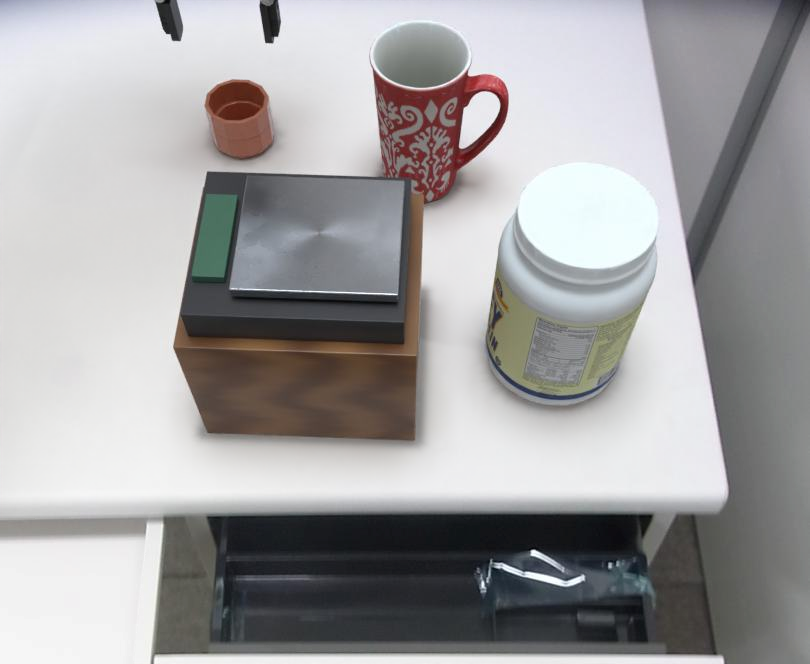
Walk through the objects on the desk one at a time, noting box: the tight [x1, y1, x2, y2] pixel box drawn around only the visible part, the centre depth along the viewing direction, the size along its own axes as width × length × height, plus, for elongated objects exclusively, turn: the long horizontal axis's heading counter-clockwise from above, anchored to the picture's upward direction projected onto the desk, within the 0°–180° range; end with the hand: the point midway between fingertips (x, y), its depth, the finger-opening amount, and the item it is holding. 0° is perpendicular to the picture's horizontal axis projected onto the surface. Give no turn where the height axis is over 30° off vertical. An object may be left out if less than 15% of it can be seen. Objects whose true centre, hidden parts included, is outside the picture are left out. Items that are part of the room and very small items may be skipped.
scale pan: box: [229, 176, 404, 302], centre depth 62 cm, size 12×11×1 cm
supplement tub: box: [484, 161, 660, 406], centre depth 68 cm, size 12×12×17 cm
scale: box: [180, 170, 412, 344], centre depth 63 cm, size 16×14×3 cm
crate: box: [172, 186, 425, 441], centre depth 70 cm, size 18×16×12 cm
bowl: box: [204, 78, 275, 159], centre depth 85 cm, size 6×6×4 cm
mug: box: [368, 19, 510, 203], centre depth 78 cm, size 13×9×14 cm
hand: (224, 36), depth 77 cm, fingers open, 8 cm apart
